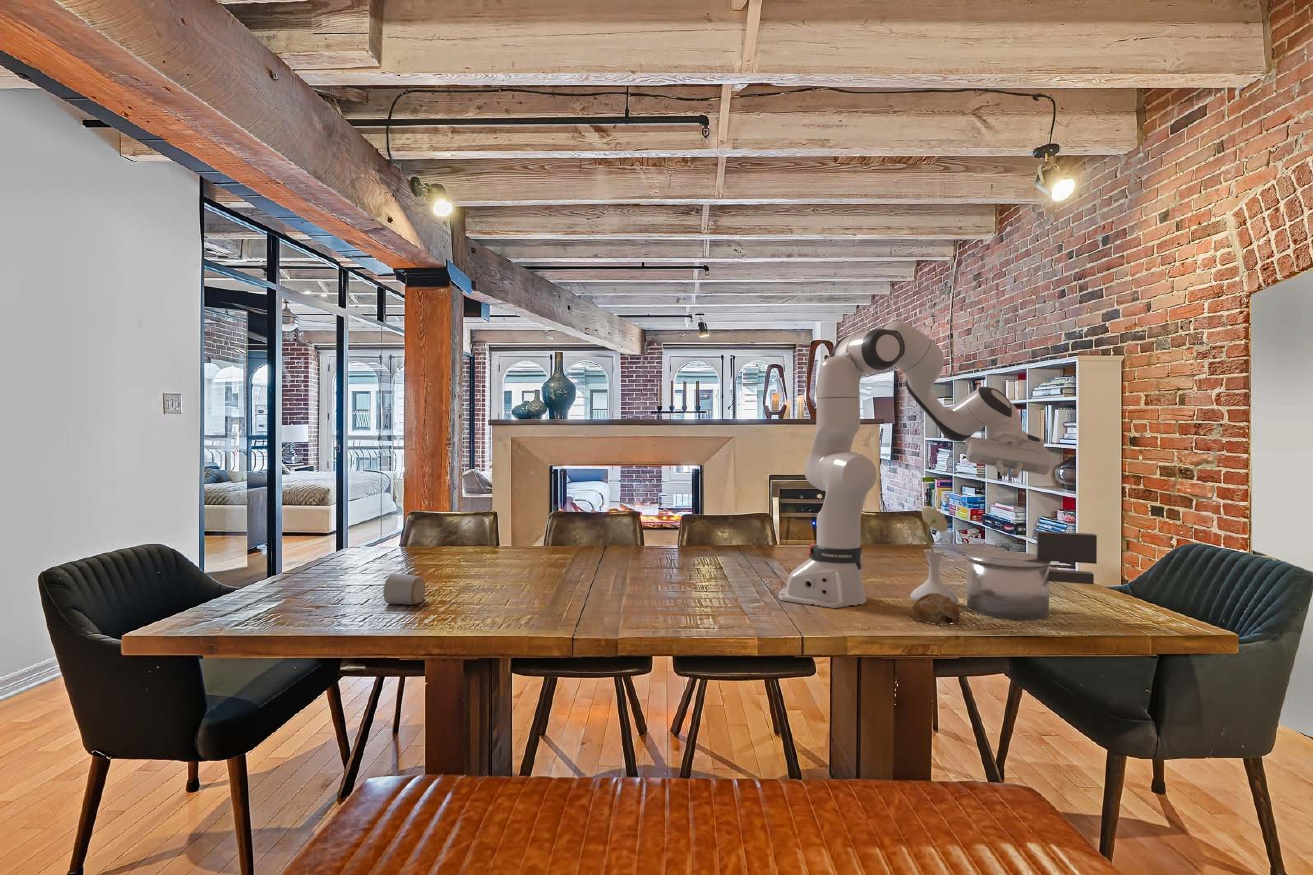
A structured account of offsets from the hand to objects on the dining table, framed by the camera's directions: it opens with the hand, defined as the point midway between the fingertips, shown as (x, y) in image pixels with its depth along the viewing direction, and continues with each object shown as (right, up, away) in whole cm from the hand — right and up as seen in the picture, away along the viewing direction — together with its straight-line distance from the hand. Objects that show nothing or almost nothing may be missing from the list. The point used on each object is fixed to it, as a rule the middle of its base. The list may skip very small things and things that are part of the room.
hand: (1009, 475), depth 172 cm
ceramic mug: (-155, -33, 0) cm, 159 cm away
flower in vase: (-20, -33, 0) cm, 39 cm away
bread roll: (-26, -33, -14) cm, 44 cm away
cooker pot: (0, -33, -8) cm, 34 cm away
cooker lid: (0, -21, -8) cm, 22 cm away
